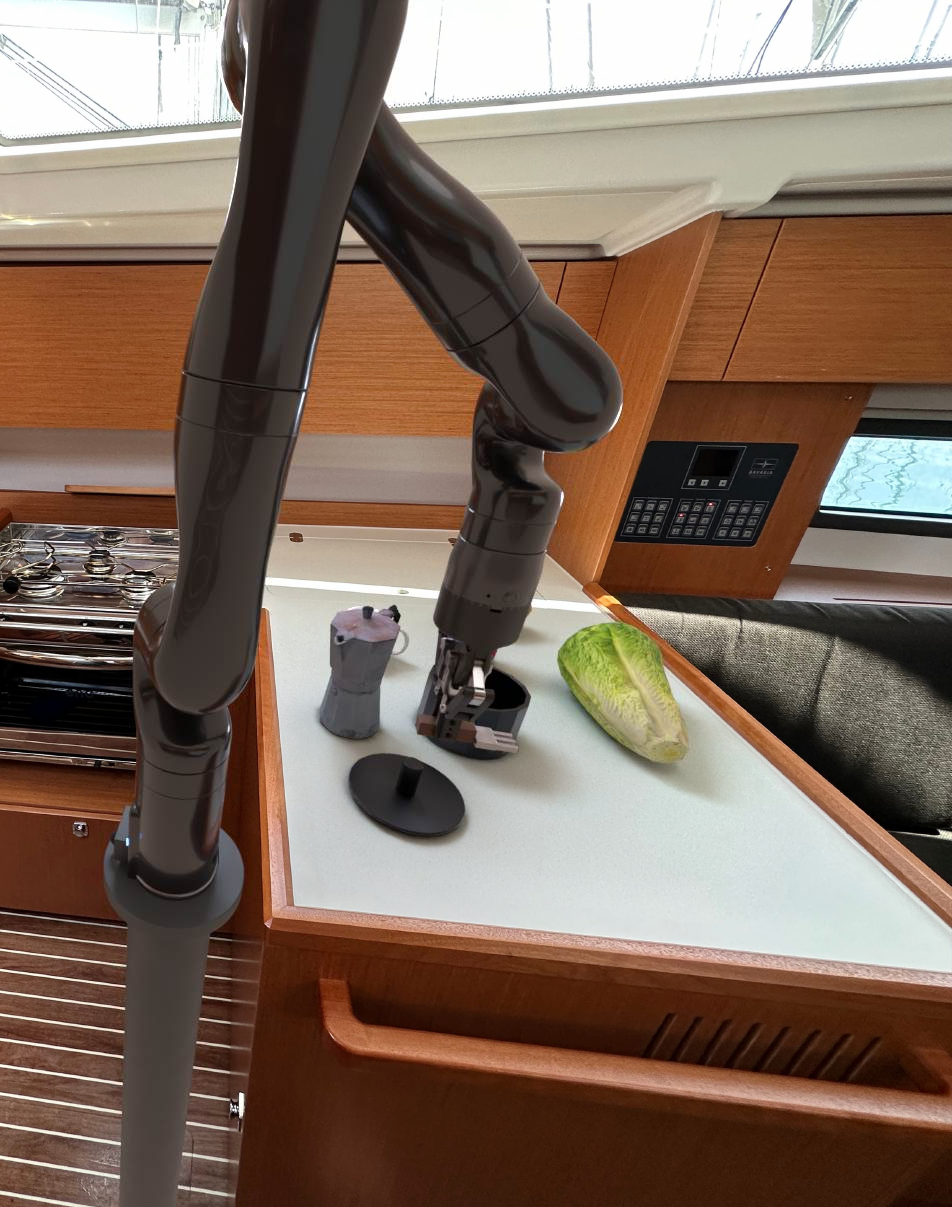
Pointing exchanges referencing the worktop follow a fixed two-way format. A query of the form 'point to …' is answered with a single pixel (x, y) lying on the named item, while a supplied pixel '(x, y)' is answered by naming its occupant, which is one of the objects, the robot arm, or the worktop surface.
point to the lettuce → (625, 689)
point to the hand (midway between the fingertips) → (441, 733)
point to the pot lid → (406, 794)
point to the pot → (487, 712)
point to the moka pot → (358, 669)
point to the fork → (471, 734)
